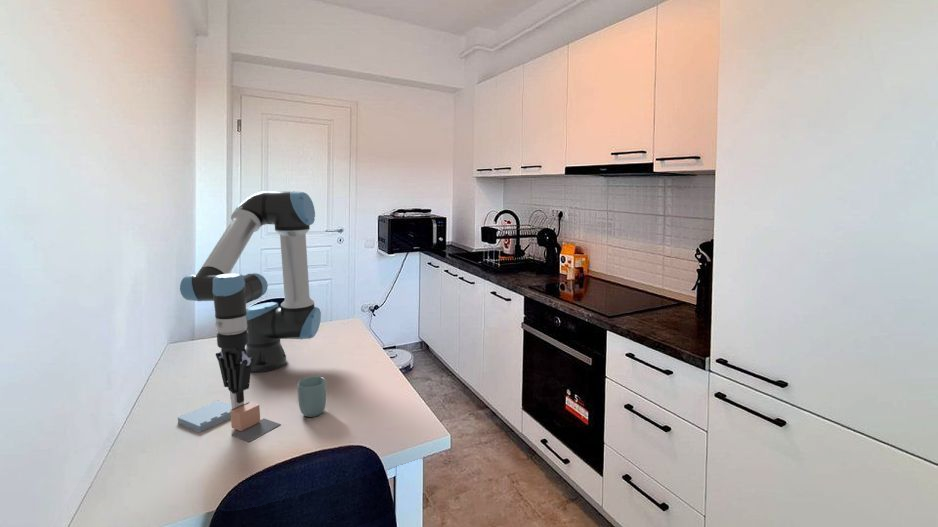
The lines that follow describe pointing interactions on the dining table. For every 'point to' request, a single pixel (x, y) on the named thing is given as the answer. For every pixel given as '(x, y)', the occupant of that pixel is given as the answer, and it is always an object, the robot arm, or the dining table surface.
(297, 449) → the dining table surface
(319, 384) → the cup
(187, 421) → the board
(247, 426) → the stub
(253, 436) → the mat
